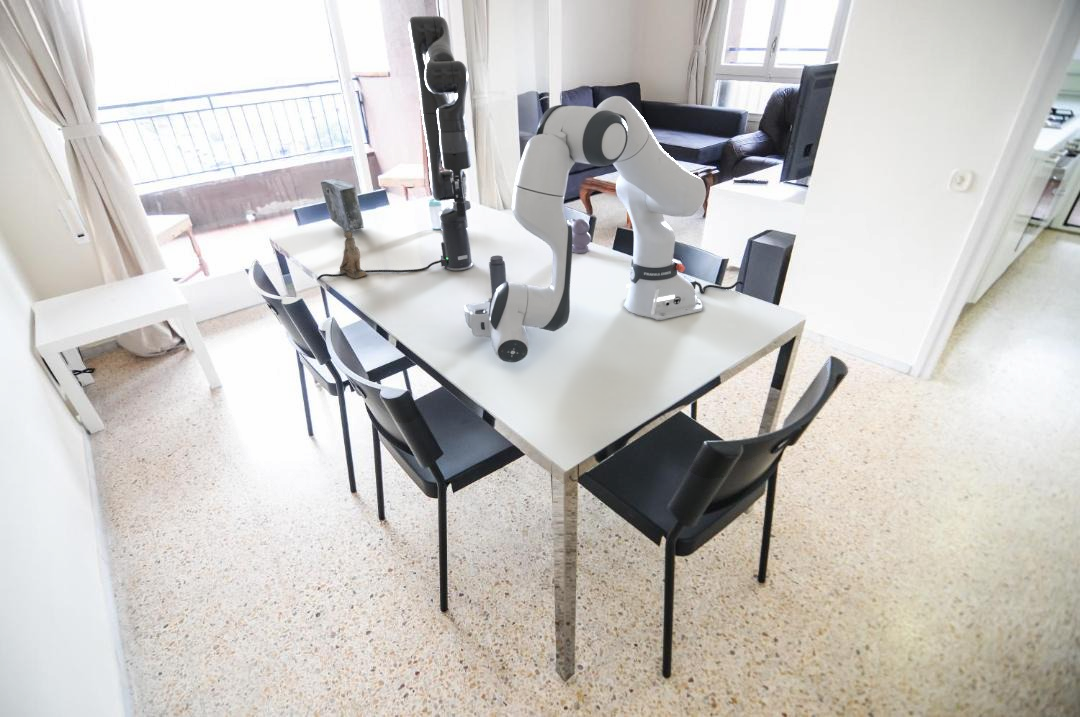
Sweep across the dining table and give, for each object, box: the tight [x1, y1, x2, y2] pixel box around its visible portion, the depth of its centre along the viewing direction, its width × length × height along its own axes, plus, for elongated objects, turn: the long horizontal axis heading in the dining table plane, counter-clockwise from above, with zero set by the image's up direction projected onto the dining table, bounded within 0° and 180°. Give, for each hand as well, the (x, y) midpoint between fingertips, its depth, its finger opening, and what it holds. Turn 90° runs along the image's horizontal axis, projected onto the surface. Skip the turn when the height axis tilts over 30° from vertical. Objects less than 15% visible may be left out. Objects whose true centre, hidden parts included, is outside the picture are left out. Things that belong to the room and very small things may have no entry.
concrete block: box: [320, 178, 365, 232], centre depth 221 cm, size 27×9×20 cm, turn 36°
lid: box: [451, 200, 472, 211], centre depth 139 cm, size 5×5×2 cm
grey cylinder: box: [488, 255, 507, 296], centre depth 137 cm, size 4×4×19 cm
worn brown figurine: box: [339, 230, 367, 280], centre depth 174 cm, size 12×6×18 cm, turn 43°
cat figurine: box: [570, 218, 592, 254], centre depth 188 cm, size 8×8×12 cm
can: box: [426, 198, 445, 230], centre depth 220 cm, size 7×7×12 cm
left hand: (462, 213), depth 140 cm, fingers closed on lid, 4 cm apart
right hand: (499, 299), depth 139 cm, fingers closed on grey cylinder, 4 cm apart
